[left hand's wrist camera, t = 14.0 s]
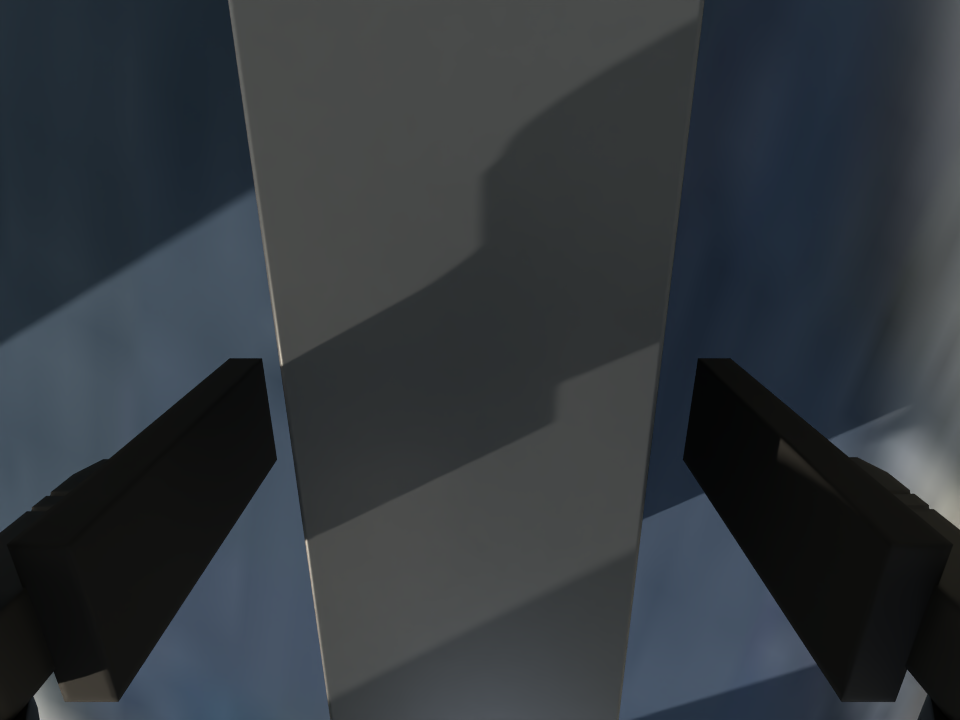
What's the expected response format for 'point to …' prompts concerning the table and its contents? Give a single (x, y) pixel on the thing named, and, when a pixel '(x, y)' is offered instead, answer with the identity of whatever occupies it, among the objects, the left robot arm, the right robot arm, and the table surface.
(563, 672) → the bar
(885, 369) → the table surface
